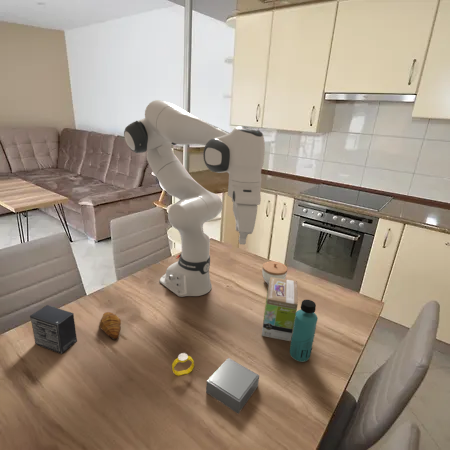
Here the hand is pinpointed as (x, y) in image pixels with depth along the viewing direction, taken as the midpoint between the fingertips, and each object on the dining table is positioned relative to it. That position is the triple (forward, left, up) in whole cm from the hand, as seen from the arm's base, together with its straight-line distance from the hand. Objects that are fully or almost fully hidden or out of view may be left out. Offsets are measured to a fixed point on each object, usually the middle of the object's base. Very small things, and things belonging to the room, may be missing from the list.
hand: (240, 236), depth 87 cm
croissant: (-34, -22, -36) cm, 54 cm away
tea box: (+9, +15, -36) cm, 40 cm away
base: (+11, -17, -36) cm, 41 cm away
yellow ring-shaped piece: (-3, -21, -36) cm, 42 cm away
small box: (-41, -36, -36) cm, 65 cm away
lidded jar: (-5, +40, -36) cm, 54 cm away
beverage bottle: (+21, +5, -36) cm, 42 cm away
